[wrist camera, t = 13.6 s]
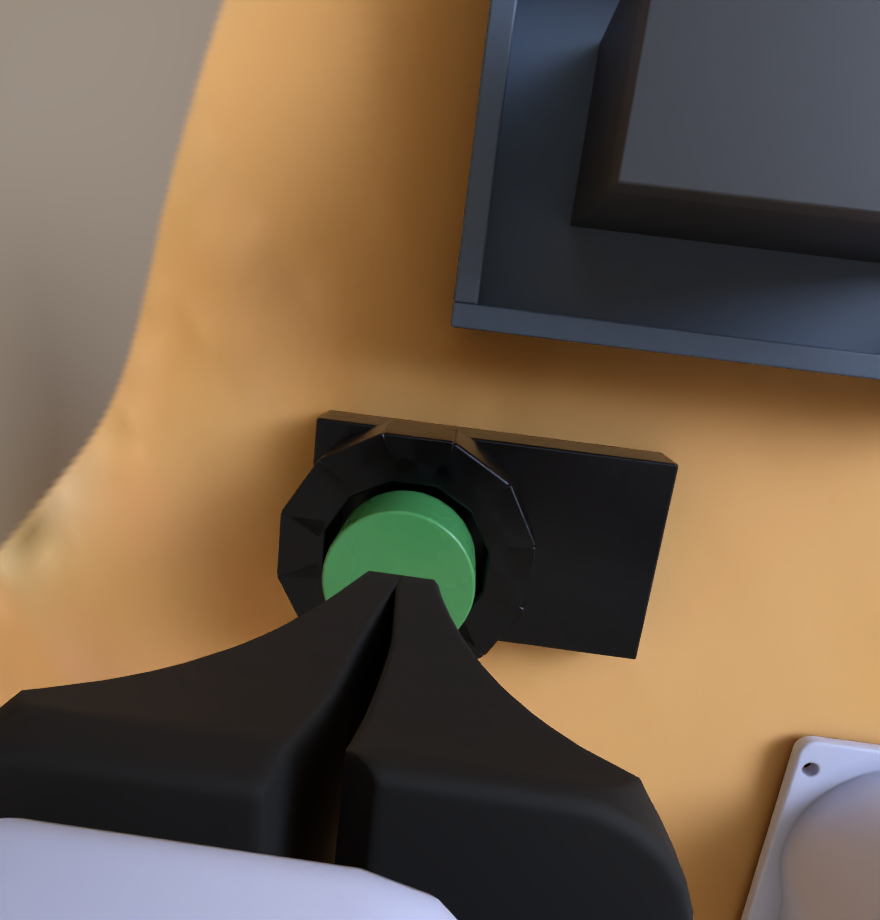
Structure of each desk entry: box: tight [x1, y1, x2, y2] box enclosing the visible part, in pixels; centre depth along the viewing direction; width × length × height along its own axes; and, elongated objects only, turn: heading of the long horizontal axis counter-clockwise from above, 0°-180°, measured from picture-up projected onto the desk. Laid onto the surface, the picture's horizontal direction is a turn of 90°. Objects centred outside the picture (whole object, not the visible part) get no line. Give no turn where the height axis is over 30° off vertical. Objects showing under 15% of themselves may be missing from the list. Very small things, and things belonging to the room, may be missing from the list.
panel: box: [277, 410, 678, 659], centre depth 17 cm, size 6×10×4 cm, turn 83°
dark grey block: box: [571, 0, 880, 263], centre depth 13 cm, size 5×10×6 cm, turn 83°
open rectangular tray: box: [451, 0, 880, 380], centre depth 15 cm, size 10×15×2 cm
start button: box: [322, 490, 476, 629], centre depth 15 cm, size 4×4×2 cm
